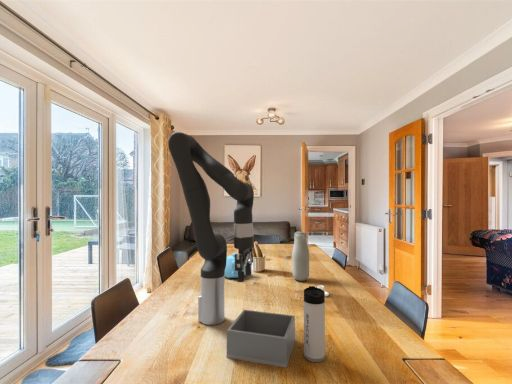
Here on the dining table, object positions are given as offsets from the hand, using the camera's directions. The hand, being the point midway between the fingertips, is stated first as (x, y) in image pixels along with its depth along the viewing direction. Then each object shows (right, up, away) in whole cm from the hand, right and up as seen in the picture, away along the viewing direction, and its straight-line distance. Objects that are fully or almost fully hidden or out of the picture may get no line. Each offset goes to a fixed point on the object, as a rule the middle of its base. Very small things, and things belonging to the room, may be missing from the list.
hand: (245, 278), depth 106 cm
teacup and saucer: (+34, -18, +31) cm, 50 cm away
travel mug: (+22, -17, -21) cm, 35 cm away
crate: (+6, -17, -17) cm, 25 cm away
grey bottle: (+30, -18, +55) cm, 66 cm away
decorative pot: (-8, -19, +64) cm, 67 cm away
